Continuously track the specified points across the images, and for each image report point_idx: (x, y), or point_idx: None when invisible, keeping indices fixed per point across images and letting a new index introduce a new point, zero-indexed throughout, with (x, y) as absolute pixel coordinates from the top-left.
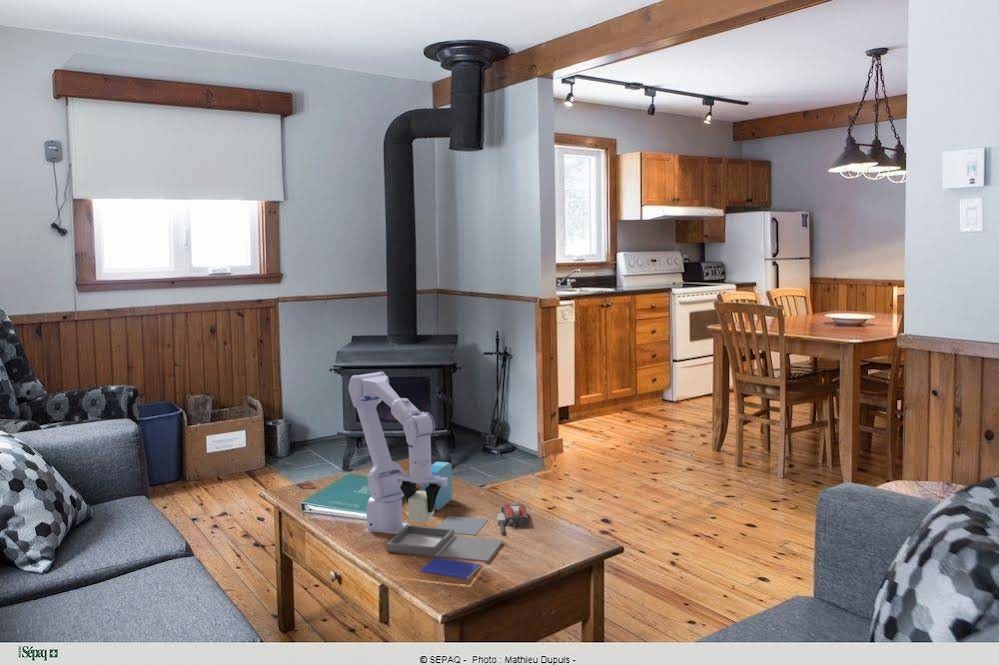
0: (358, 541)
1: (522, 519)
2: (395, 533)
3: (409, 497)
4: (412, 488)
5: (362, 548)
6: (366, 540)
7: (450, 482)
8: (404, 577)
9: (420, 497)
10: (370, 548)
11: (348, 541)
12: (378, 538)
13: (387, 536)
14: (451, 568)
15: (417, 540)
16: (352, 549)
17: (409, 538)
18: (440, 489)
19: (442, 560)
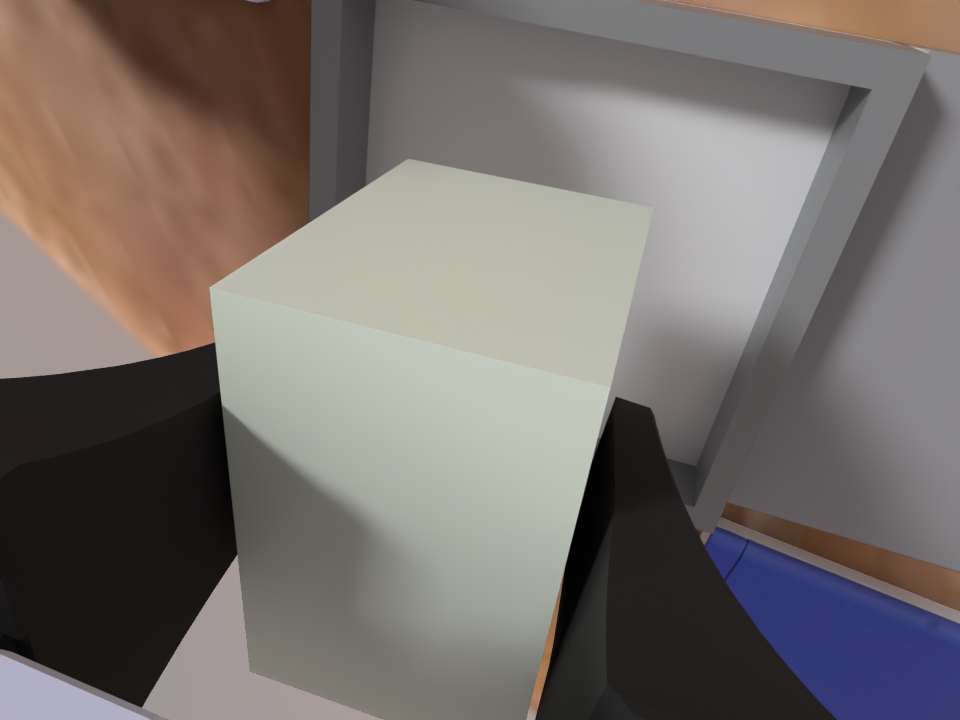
0: (67, 161)
1: None
2: (256, 2)
3: (225, 566)
4: (134, 577)
5: (158, 288)
6: (106, 139)
7: None
8: (544, 668)
9: (409, 654)
10: (206, 290)
11: (9, 163)
12: (166, 90)
13: (212, 35)
14: (835, 698)
15: (505, 176)
16: (111, 302)
17: (421, 128)
18: None
19: (768, 592)
